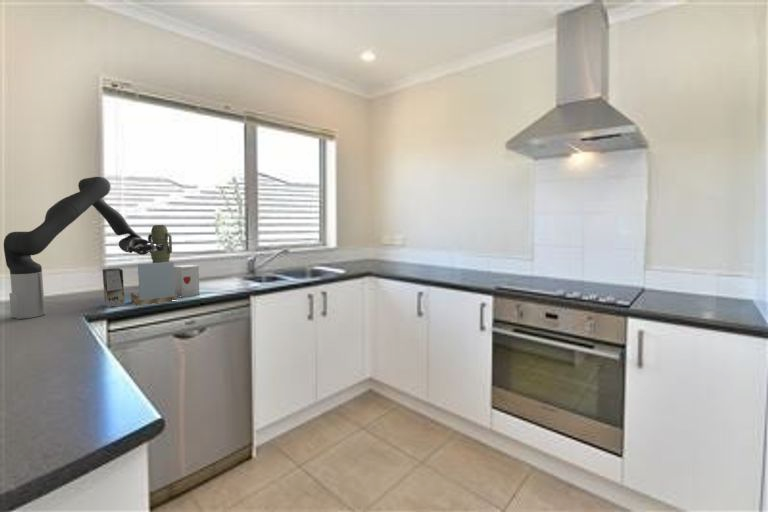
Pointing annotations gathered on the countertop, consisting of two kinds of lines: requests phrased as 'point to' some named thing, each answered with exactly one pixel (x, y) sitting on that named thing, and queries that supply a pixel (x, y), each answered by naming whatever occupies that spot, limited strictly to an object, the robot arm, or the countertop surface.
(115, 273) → the coffee box
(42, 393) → the countertop surface
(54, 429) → the countertop surface
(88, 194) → the robot arm
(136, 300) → the flatbed
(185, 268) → the supplement box
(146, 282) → the panel
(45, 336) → the countertop surface
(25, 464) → the countertop surface
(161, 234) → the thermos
